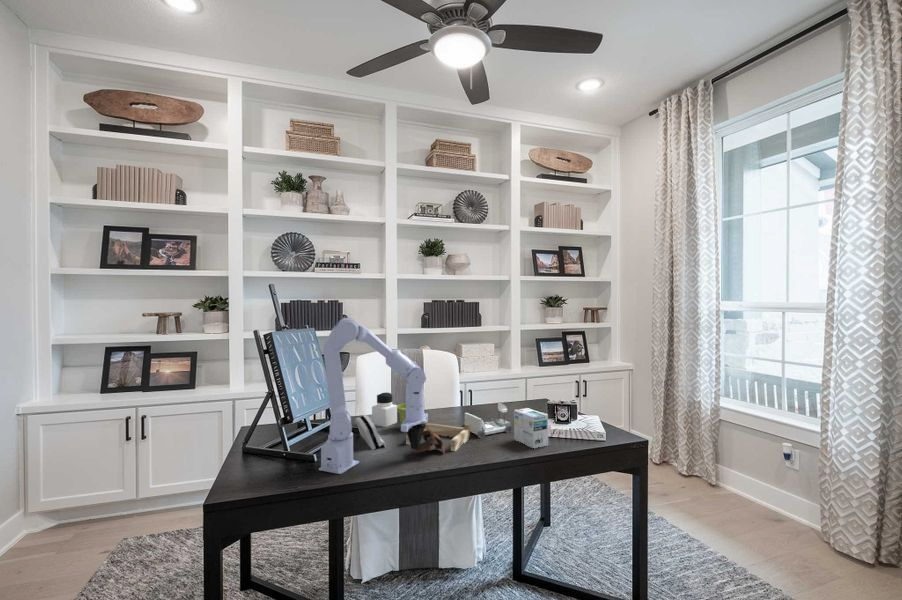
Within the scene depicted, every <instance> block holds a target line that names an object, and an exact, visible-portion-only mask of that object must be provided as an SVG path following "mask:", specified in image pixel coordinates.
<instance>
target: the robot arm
mask: <svg viewBox="0 0 902 600" xmlns="http://www.w3.org/2000/svg"><path fill="white" fill-rule="evenodd" d="M355 339H356V340H355ZM353 340H355V341H356V342H361V343H366V344H367V345H368V346H370V347H371V348H372V349H374V350H375V351H376V352H378V353H379V354H380V355H382V356H383V357H384V358H385V364H386V365H387V367H389V368H391V370H393V371H394V372H395V373H396V374H398V375H399V376H400V377H401V378H402V377H403V378H404V379H405V381H406V382H405V388H406V389H405V403H406V419H405V420H404V422H403V424H402V425H401V424H400V432H403V433H406V434H407V435H408V438H409V441H410V445H409V446H410V448H411V449H412V450H413V449H418V448H419V445H420V444H421V440H422V438H423V436H422V434H423V431H424V429H425V427H426V425H425V424H422V423H426V422H428V423H429V414H428V412H425V388H424V387H425V382H426V381H427V376H426V374H425V371H424V370H423V369H422V367H420V366H419V364H417V362H416V361H415V360H411V359H410V358H409V357H408V356H407V355H406V352H405V351H403V349H401V350H400V349H397V348H396V349H391V348H390V347H389V346H388V345H387V344H386V343H385V342H383V340H381V339H380V338H379V337H378V336H377V335H376V334H374V333H373V331H371V330H370V329H369V328H367V327H365V326H364V325H362V324H360V323H359V322H358V323H357V322H356V321H355V319H354V318H352V317H344V318H341V319H339V321H338V322H336V323H335V324H334V326H333V327H332V329H331V331H330V333H329V334H328V337H327V338H326V341H325V343H324V344H323V349H322V350H323V356H324V357H323V358H324V366H325V374H326V381H327V387H328V388H327V389H328V396H329V403H330V404H329V405H330V415H331V416H330V418H329V419H330V420H329V424H330V425H329V434H328V436H327V437H328V438H327V440H326V441H325V443H324V444H322V446H321V449H320V467H319V468H318V470H319V471H320V472H321V471H322V472H328V473H332V474H337V475H338V474H339V475H342V474H344V473H345V472H347V471H348V470H350V469H352V468H354V467H355V466H356V465H358V464H360V461H359V460H355V459H354V432H352V430H353V425H352V416H351V414H350V412H349V411H348V408H347V401H346V393H345V386H344V379H343V371H342V370H343V369H342V363H341V356H340V352H341V351H342V350H343V349H344V347H346V345H347V344H348V343H350V342H351V341H353ZM427 419H428V420H427Z"/></svg>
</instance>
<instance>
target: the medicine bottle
mask: <svg viewBox="0 0 902 600" xmlns="http://www.w3.org/2000/svg"><path fill="white" fill-rule="evenodd" d="M397 406H398V405H397V404H393V394H392V393H390V392H387V391H385V392H379V393H378V394H376V405H372V406H371V421H372V422H373V424H374V426H379V427H382V428H383V427H384V428H387V427H389V426H393V425H394V424H395V425H396V424H397V423H398V408H397Z"/></svg>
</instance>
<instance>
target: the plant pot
mask: <svg viewBox="0 0 902 600" xmlns="http://www.w3.org/2000/svg"><path fill="white" fill-rule="evenodd" d="M397 412H398V413H399V421H400V426H401V425H402V424H403V422H404V420H405V419H406V402H405V403H399V404H398V405H397Z"/></svg>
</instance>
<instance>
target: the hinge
mask: <svg viewBox="0 0 902 600" xmlns="http://www.w3.org/2000/svg"><path fill="white" fill-rule="evenodd" d="M354 420H355V423H356V426H357V428H358V429H357V430H358V431H359V434H360V436H361V438H362V439H363V440H364V441H365V442H366V444H367V445H368V446H369V447H370V449H371V450H376V448H377V447H379V448H380V447H381V446H383V447H384V448H386V449H387V444H386V442H385V440H383V439H382V438H381V436H380V435H379V433H378V431H377V428H376V425H374V424H373V422H372V418H370V417H369V416H368V415H367V414H363V415H361V416H360V417H359V416H358V417H357V418H355V419H354Z"/></svg>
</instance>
